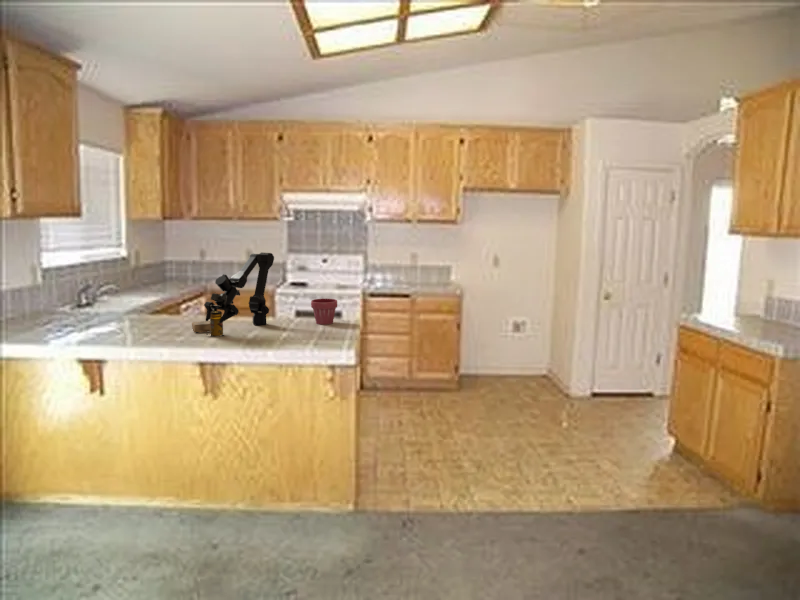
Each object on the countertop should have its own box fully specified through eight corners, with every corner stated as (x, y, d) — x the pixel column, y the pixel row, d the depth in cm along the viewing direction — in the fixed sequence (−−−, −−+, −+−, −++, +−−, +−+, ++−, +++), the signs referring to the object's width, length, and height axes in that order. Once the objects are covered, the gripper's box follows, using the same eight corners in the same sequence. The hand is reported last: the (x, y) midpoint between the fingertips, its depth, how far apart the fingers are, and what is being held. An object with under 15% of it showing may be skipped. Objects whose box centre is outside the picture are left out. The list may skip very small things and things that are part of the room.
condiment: (225, 335, 323) (225, 312, 321) (208, 337, 318) (208, 313, 316) (221, 333, 329) (220, 309, 327) (204, 335, 324) (203, 311, 322)
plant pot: (314, 326, 349) (313, 302, 347) (309, 321, 362) (308, 298, 360) (340, 324, 353) (340, 301, 352) (334, 320, 367) (334, 297, 365)
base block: (210, 328, 341) (209, 320, 340) (212, 331, 333) (212, 323, 332) (192, 329, 337) (191, 321, 336) (194, 332, 329) (194, 325, 328)
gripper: (206, 285, 328) (190, 310, 320) (234, 288, 319) (218, 313, 311) (217, 299, 336) (202, 323, 328) (245, 302, 327) (230, 327, 319)
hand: (213, 321), depth 321 cm, fingers open, 9 cm apart
